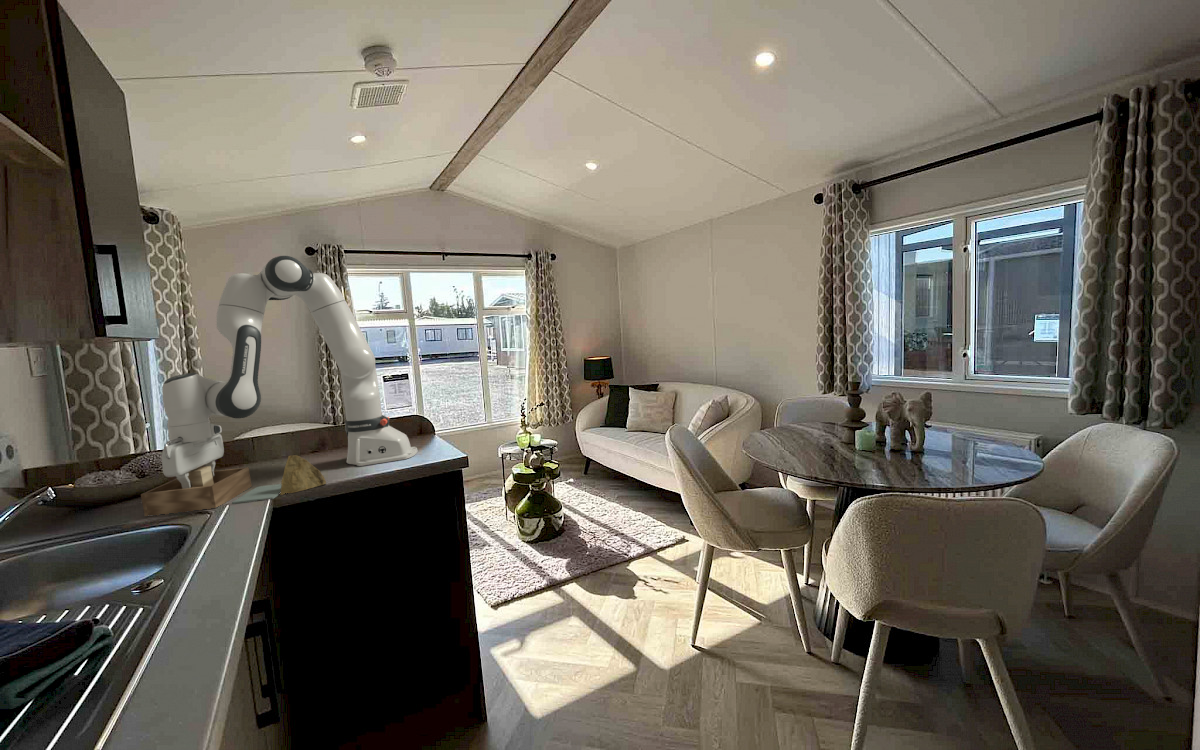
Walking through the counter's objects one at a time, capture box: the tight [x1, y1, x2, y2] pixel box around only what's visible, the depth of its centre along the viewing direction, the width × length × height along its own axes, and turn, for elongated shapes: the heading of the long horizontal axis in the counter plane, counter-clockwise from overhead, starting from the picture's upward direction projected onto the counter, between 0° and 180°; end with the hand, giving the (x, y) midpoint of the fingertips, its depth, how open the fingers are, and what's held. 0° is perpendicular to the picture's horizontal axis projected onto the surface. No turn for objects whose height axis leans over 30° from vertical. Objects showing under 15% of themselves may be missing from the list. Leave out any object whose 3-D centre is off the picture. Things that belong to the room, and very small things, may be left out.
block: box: [187, 466, 214, 488], centre depth 137 cm, size 4×4×7 cm
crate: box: [140, 466, 253, 517], centre depth 138 cm, size 17×18×6 cm
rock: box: [279, 454, 327, 496], centre depth 141 cm, size 11×9×10 cm
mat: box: [231, 483, 281, 505], centre depth 140 cm, size 10×13×1 cm
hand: (199, 482), depth 138 cm, fingers open, 8 cm apart
